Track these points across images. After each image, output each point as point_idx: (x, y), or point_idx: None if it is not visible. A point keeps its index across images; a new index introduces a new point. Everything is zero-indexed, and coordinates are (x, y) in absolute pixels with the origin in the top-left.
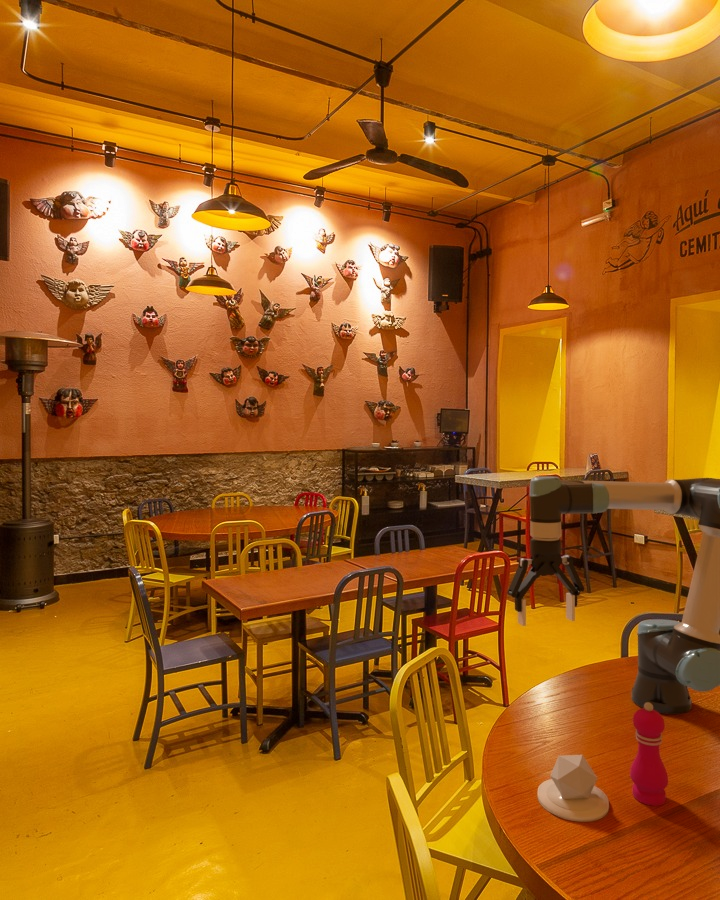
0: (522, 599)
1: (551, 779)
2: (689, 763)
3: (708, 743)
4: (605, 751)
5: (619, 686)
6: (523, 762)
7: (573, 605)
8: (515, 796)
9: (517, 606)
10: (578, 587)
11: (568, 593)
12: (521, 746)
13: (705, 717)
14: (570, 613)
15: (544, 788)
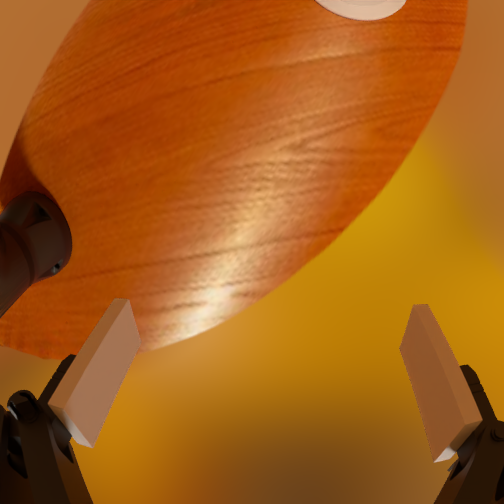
0: (477, 425)
1: (366, 17)
2: (93, 36)
3: (36, 96)
4: (202, 86)
5: (74, 297)
6: (377, 93)
7: (83, 356)
8: (434, 18)
9: (482, 389)
10: (7, 436)
11: (80, 437)
12: (352, 145)
13: (7, 176)
14: (118, 335)
15: (391, 2)
